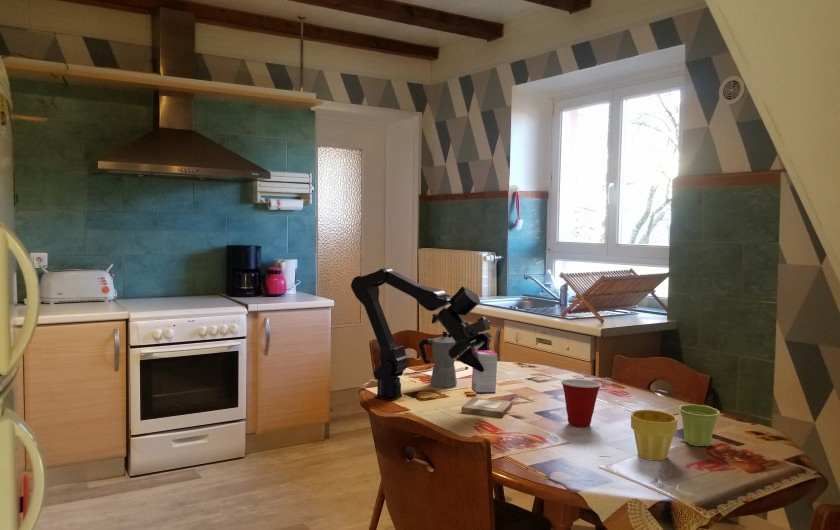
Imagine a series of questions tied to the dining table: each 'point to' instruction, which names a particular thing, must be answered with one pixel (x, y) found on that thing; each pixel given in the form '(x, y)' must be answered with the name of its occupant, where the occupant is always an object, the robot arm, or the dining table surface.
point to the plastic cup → (580, 400)
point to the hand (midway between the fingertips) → (488, 368)
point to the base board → (487, 406)
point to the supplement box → (485, 373)
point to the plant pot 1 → (653, 433)
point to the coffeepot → (440, 361)
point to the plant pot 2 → (698, 424)
